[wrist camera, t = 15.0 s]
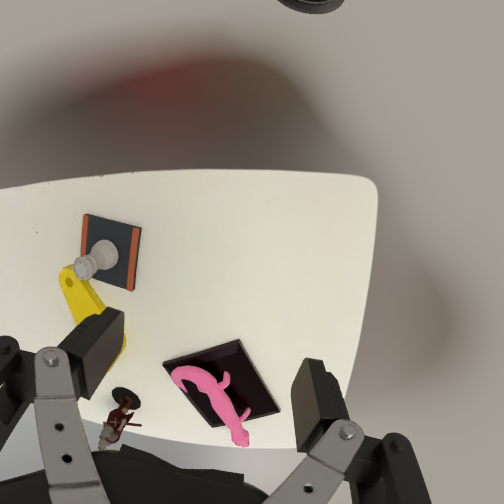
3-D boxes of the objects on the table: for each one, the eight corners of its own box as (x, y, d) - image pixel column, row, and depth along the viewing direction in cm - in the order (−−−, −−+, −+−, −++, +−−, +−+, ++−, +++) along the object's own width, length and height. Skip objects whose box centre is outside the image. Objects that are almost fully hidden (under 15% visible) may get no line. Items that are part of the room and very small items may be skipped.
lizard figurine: (216, 428, 51) (212, 455, 44) (163, 361, 46) (150, 388, 38) (282, 413, 49) (285, 441, 42) (238, 338, 44) (235, 367, 36)
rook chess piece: (118, 270, 40) (92, 291, 32) (94, 262, 40) (66, 281, 32) (121, 242, 39) (94, 259, 31) (96, 235, 38) (67, 250, 31)
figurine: (127, 384, 48) (99, 438, 33) (149, 408, 50) (127, 463, 35) (106, 389, 49) (77, 439, 34) (127, 412, 51) (104, 462, 36)
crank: (134, 349, 45) (121, 369, 39) (102, 357, 46) (88, 375, 40) (83, 257, 40) (63, 270, 35) (54, 273, 41) (34, 286, 36)
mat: (86, 213, 38) (83, 214, 37) (141, 227, 39) (139, 229, 38) (82, 272, 41) (80, 274, 40) (134, 289, 42) (132, 291, 41)
